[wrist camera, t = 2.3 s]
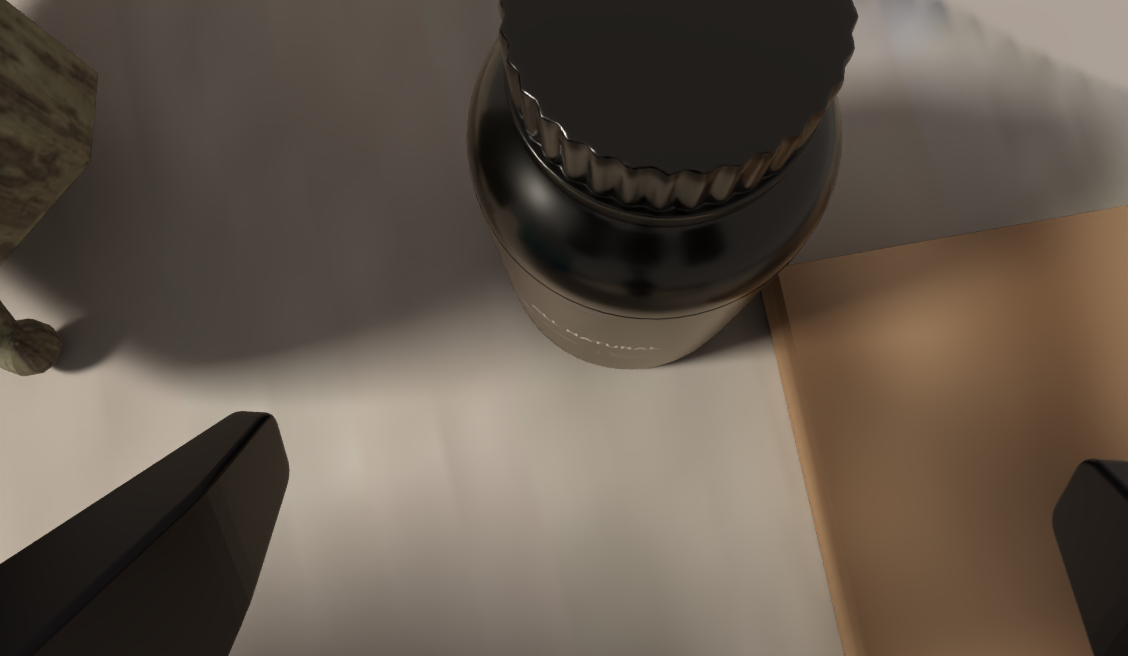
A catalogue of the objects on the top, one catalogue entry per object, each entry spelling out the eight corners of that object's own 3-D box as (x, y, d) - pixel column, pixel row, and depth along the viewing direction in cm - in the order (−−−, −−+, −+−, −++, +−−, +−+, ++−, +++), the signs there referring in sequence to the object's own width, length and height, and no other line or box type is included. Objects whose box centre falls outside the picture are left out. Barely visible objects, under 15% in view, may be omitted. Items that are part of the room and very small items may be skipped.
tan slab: (853, 694, 19) (883, 720, 17) (759, 286, 21) (776, 267, 19) (1279, 622, 19) (1358, 640, 17) (1141, 218, 21) (1198, 192, 19)
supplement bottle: (546, 402, 21) (477, 318, 9) (487, 183, 22) (359, -145, 10) (780, 337, 21) (1021, 167, 9) (707, 122, 22) (833, -275, 10)
